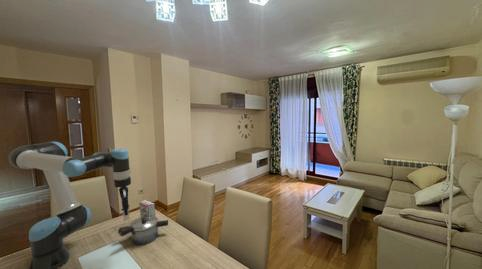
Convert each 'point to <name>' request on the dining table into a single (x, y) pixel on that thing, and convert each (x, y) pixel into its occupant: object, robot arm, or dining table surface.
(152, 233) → the pot
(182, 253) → the dining table surface
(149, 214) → the candy bar box
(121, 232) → the lid
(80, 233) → the dining table surface
